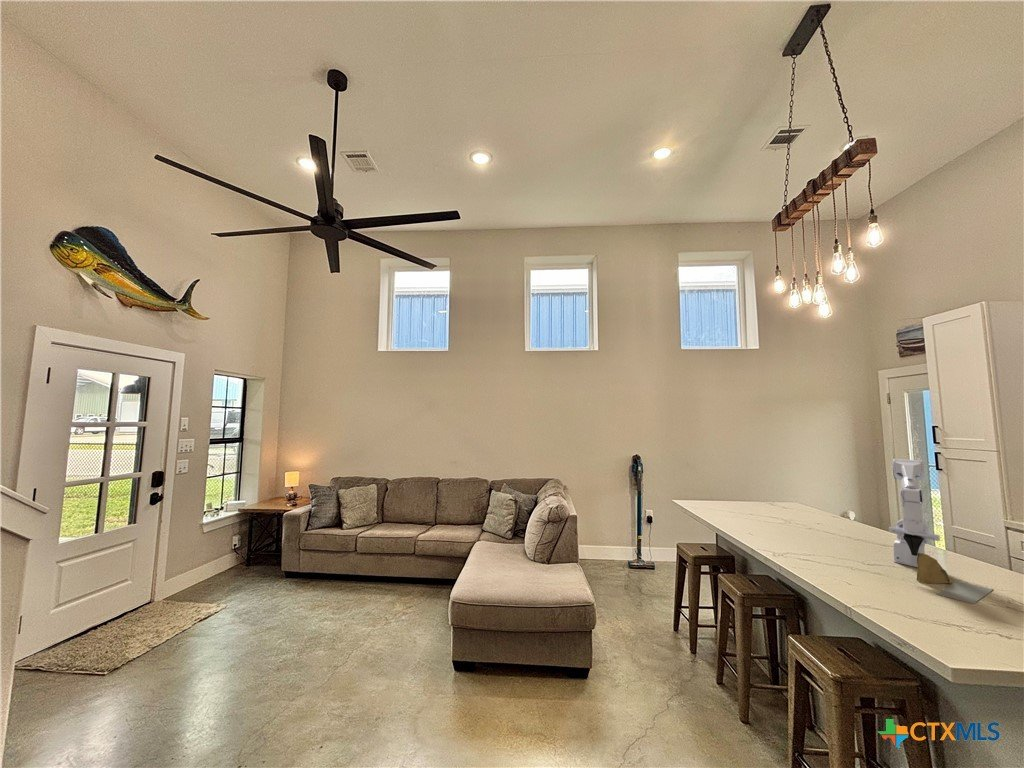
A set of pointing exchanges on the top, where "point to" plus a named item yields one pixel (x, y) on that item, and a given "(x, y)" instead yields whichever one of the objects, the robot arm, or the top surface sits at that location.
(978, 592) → the mat
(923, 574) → the rock
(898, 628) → the top surface
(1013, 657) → the top surface
